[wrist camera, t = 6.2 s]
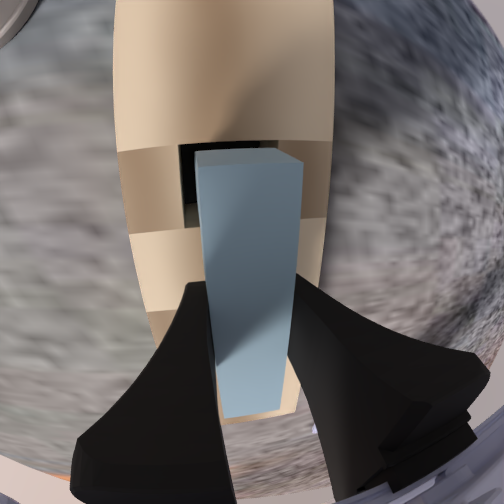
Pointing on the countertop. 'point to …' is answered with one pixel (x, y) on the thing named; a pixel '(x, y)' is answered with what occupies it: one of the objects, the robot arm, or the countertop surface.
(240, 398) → the clip
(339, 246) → the countertop surface
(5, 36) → the travel mug
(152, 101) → the rail
